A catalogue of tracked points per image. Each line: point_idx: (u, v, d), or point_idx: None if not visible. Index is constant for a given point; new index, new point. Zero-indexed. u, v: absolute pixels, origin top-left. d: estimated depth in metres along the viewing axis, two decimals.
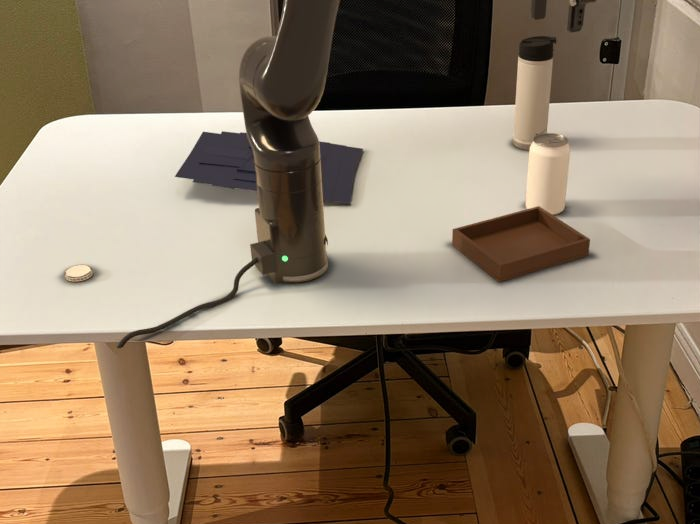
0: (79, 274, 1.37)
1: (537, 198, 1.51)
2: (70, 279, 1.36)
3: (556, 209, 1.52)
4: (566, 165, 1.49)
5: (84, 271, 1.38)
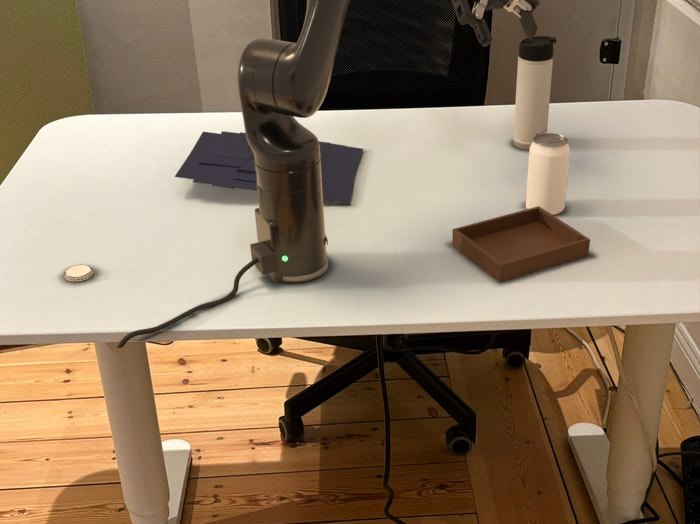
0: (79, 274, 1.37)
1: (537, 198, 1.51)
2: (70, 279, 1.36)
3: (556, 208, 1.52)
4: (566, 165, 1.49)
5: (84, 271, 1.38)
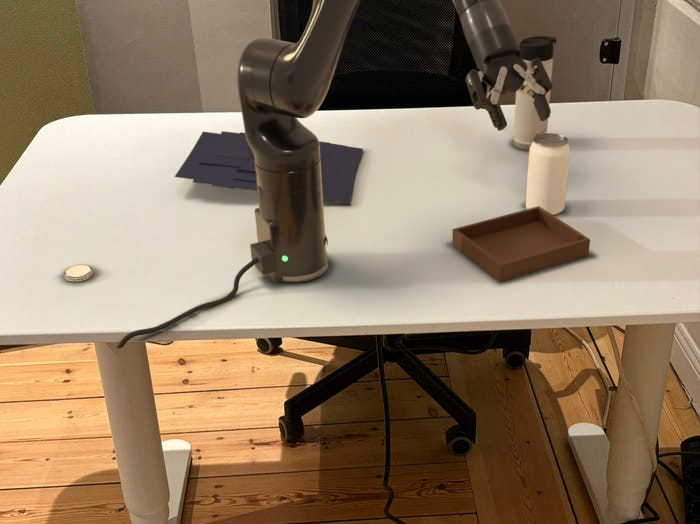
0: (79, 274, 1.37)
1: (537, 198, 1.51)
2: (70, 279, 1.36)
3: (556, 208, 1.52)
4: (566, 165, 1.49)
5: (84, 271, 1.38)
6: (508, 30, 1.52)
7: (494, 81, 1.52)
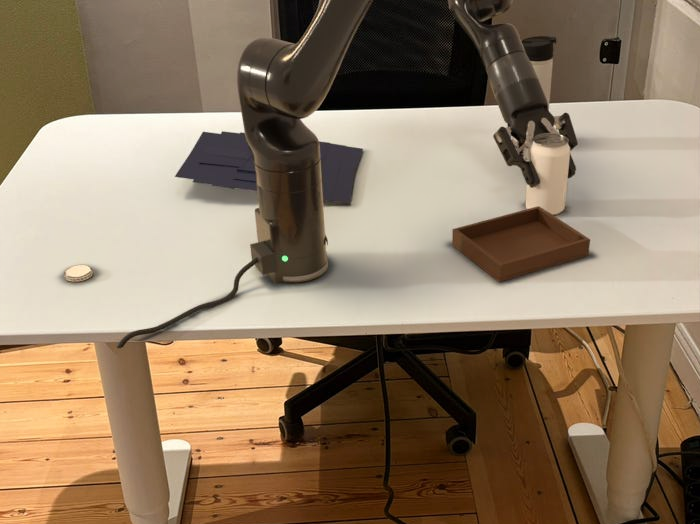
0: (79, 274, 1.37)
1: (537, 199, 1.51)
2: (70, 279, 1.36)
3: (556, 209, 1.52)
4: (566, 165, 1.49)
5: (84, 271, 1.38)
6: (536, 84, 1.50)
7: (522, 135, 1.50)
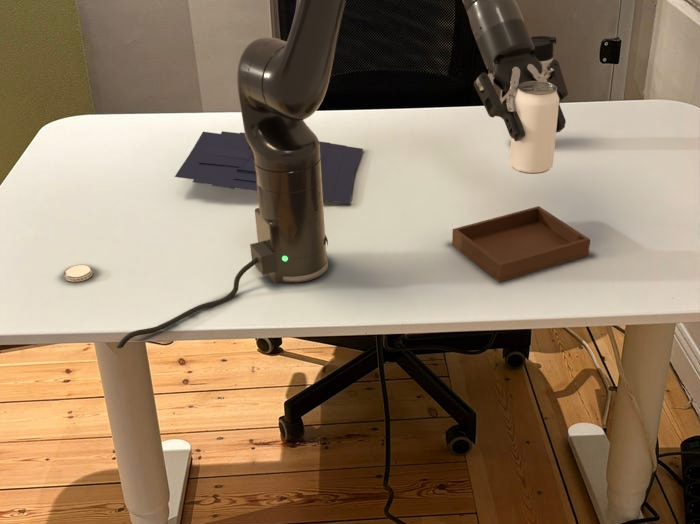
0: (79, 274, 1.37)
1: (522, 154, 1.36)
2: (70, 279, 1.36)
3: (543, 165, 1.37)
4: (555, 116, 1.34)
5: (84, 271, 1.38)
6: (522, 26, 1.34)
7: (505, 83, 1.34)
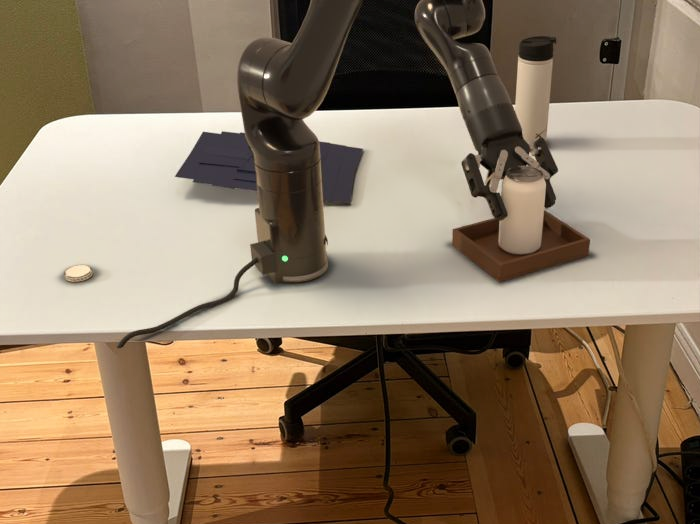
0: (79, 274, 1.37)
1: (510, 237, 1.39)
2: (70, 279, 1.36)
3: (531, 247, 1.40)
4: (542, 201, 1.37)
5: (84, 271, 1.38)
6: (509, 109, 1.37)
7: (493, 166, 1.37)
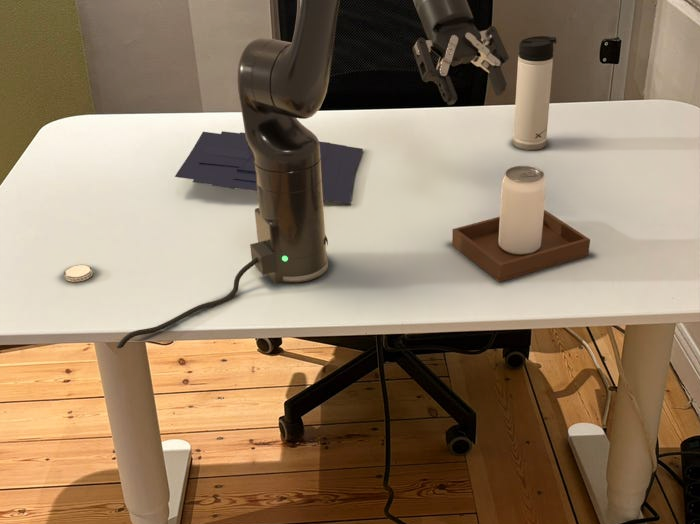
0: (79, 274, 1.37)
1: (510, 237, 1.39)
2: (70, 279, 1.36)
3: (531, 247, 1.40)
4: (542, 201, 1.36)
5: (84, 271, 1.38)
6: None
7: (444, 51, 1.39)
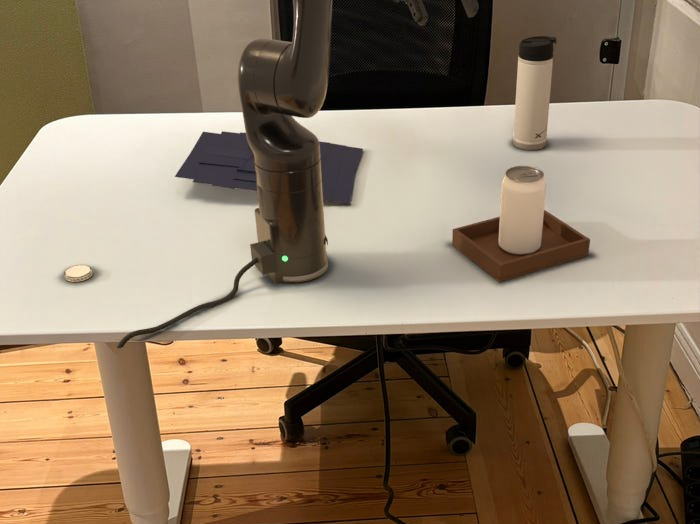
0: (79, 274, 1.37)
1: (510, 237, 1.39)
2: (70, 279, 1.36)
3: (531, 247, 1.40)
4: (542, 201, 1.36)
5: (84, 271, 1.38)
6: None
7: None
